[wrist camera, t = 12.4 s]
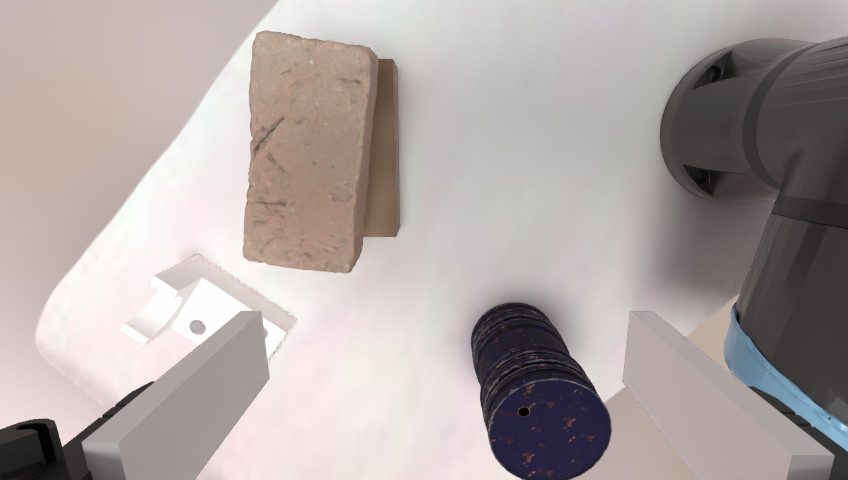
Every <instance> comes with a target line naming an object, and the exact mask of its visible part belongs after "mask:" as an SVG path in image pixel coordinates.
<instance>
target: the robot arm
mask: <svg viewBox="0 0 848 480" xmlns="http://www.w3.org/2000/svg"><path fill="white" fill-rule="evenodd" d="M661 147H662V152H663V156H664V159H665V162H666V164H667V167H668V169H669V170H670V172H671V174H672V175H673V177H674V178H675V179H676V180H677V181H678V183H679V184H681V185H682V186H683V187H684V188H685V189H687V190H688V191H690V192H691V193H693V194H695V195H697V196H699V197H702V198H705V199H709V200H713V201H718V202H723V203H730V204H749V203H756V202H761V201H766V200H771V199H775V198H777V199H776V202H775V204H774V207H773V210H772V212H771V214H770V216H769V219H768V222H767V225H766V227H765V230H764V233H763V235H762V238H761V241H760V244H759V246H758V249H757V252H756V254H755V257H754V260H753V262H752V265H751V267H750V270H749V273H748V275H747V278H746V280H745V283H744V285H743V288H742V290H741V293H740V295H739V298H738V301H737V302H736V303H735V304H734V305H733V307H732V309H731V324H730V327H729V330H728V334H727V337H726V340H725V343H724V350H723V352H724V359H725V362H726V364H727V366H728V368H729V369H730V371H731V372H732V374H731V373H730V372H728V371H727V370H726V369H724V368H723V367H722V366H721V365H720V364H718V363H717V362H716V361H715V360H713V359H712V358H710V357H709V356H708V355H707V354H706V353H705V352H703V351H702V350H701V349H699V348H698V347H697V346H696V345H694V344H693V343H692V342H690V341H689V340H688V339H687V338H686V337H684V336H683V335H682V334H681V333H679V332H678V331H677V330H675V329H674V328H673V327H672V326H670V325H669V324H668V323H667V322H665V321H664V320H663V319H662V318H660V317H659V316H658V315H657V314H655V313H654V312H653V311H630V316H629V326H628V335H627V344H626V353H625V362H624V371H623V380H622V382H623V383H624V384H625V386H626V387H627V388H628V390H629V391H630V392H631V394H632V395H633V396H634V398H635V399H636V400H637V401H638V403H639V404H640V406H641V407H642V408H643V409H644V411H645V412H646V413H647V415H648V416H649V417H650V419H651V420H652V421H653V423H654V424H655V425H656V426H657V428H658V429H659V431H660V432H661V433H662V434H663V436H664V437H665V438H666V440H667V441H668V442H669V444H670V445H671V446H672V447H673V449H674V450H675V452H676V453H677V454H678V455H679V457H680V458H681V459H682V461H683V462H684V463H685V465H686V466H687V467H688V469H689V470H690V471H691V473H692V474H693V475H694V477H695V478H696V479H697V480H848V36H845V37H841V38H838V39H834V40H830V41H827V42H823V43H813V42H805V41H796V40H788V39H778V38H767V39H757V40H751V41H747V42H744V43H741V44H738V45H734V46H731V47H728V48H725V49H723V50H720V51H718V52H716V53H714V54H712V55H710V56H709V57H707V58H705V59H704V60H702V61H701V62H700V63H698V64H697V65H696V66H695V67H694V68H693V69H691V70H690V71H689V72H688V73H687V75H686V76H685V77H684V78H683V79H682V80H681V82H680V83H679V84H678V86H677V87H676V89H675V90H674V92H673V94H672V96H671V98H670V100H669V102H668V104H667V107H666V110H665V113H664V116H663V121H662V127H661ZM269 378H270V377H269V369H268V361H267V352H266V344H265V336H264V327H263V319H262V311H240V312H239V313H238V314H236V315H235V316H234V317H233V318H232V319H230V320H229V321H228V322H227V323H225V324H224V325H223V326H222V327H221V328H219V329H218V330H217V331H216V332H215V333H213V334H212V335H211V336H210V337H209V338H207V339H206V340H205V341H204V342H202V343H201V344H200V345H199V346H198V347H196V348H195V349H194V350H193V351H192V352H190V353H189V354H188V355H187V356H186V357H184V358H183V359H182V360H181V361H179V362H178V363H177V364H176V365H175V366H173V367H172V368H171V369H170V370H169V371H167V372H166V373H165V374H164V375H162V376H161V377H160V378H159V379H158V380H156V381H155V382H154V381H152V382H150V383H148V384H146V385H144V386H142V387H140V388H138V389H136V390H135V391H133V392H131V393H130V394H128V395H127V396H126V397H125V398H123V399H122V400H121V401H120V402H118V403H117V404H116V406H115V407H112V408H111V409H110V410H108V411H107V412H106V413H105V414H103V416H102V418H98V419H97V420H96V421H95V422H93V423H92V424H91V425H89V426H88V427H87V428H86V429H85V430H84V431H82V432H81V433H80V434H78V435H77V436H76V437H75V438H73V439H72V440H71V441H69V442H68V443H67V444H66V445H64V446H63V447H62V445H61V441H60V438H59V434H58V430H57V427H56V424H55V421H53V420H50V419H33V420H29V421H25V422H20V423H17V424H14V425H11V426H9V427H6V428H3V429H1V430H0V480H195V479H196V477H197V476H198V475H199V473H200V472H201V471H202V469H203V468H204V466H205V465H206V464H207V462H208V461H209V460H210V458H211V457H212V456H213V454H214V453H215V452H216V450H217V449H218V448H219V446H220V445H221V443H222V442H223V441H224V439H225V438H226V437H227V435H228V434H229V433H230V431H231V430H232V429H233V427H234V426H235V424H236V423H237V422H238V420H239V419H240V418H241V416H242V415H243V414H244V412H245V411H246V410H247V408H248V407H249V406H250V404H251V403H252V401H253V400H254V399H255V397H256V396H257V395H258V393H259V392H260V391H261V389H262V388H263V387H264V385H265V384H266V383H267V381H268V380H269Z"/></svg>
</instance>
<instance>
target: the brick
mask: <svg viewBox="0 0 848 480" xmlns="http://www.w3.org/2000/svg"><path fill="white" fill-rule="evenodd" d="M250 76H251V80H250V88H249V105H250V112H251V122H250V130H251V135H252V137H253V140H252V141H251V143H250V150H251V162H250V168H249V173H248V175H249V179H248V181H249V183H250V185H249V189H248V192H247V195H246V196H247V200H248V201H247V204H246V207H245V219H244V245H243V256H244V258H246V259H247V260H249V261H255V262H259V263H262V262H265V263H267V264H268V265H276V266H282V267H287V268H294V269H303V270H315V271H327V272H335V273H336V272H341V273H349V272H351V271H352V268H353V267H354V266H355V264H356V262H357V260H358V259H359V257H360V254H361V250H362V246H363V232H364V226H363V217H364V214H365V212H366V198H367V188H368V176H369V172H368V170H369V159H370V146H371V135H372V123H373V113H374V106H375V101H376V96H377V76H378V57H377V56H376V55H375V54H374V52H373V51H372V50H371V49H370V48H367V47H365V46H361V45H346V44H343V43H338V42H334V41H329V40H328V41H321V40H318V39H305V38H302V37H300V36H295V35H292V34H285V33H281V32H271V31H262V32H259V33H257V34H256V38H255V40H254V42H253V46H252V63H251V70H250Z"/></svg>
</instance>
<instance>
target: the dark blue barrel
mask: <svg viewBox="0 0 848 480" xmlns="http://www.w3.org/2000/svg"><path fill="white" fill-rule="evenodd" d="M471 347H472V357H473V364H474V368H475V372H476V375H477V378H478V381H479V383H480V385H481V392H480V401H481V407H482V411H483V417H484V422H485V425H486V429H487V432H488V438H489V443H490V446H491V450H492V452H493V454H494V456H495V458H496V459H497V461H498V462H499V463H500V465H501V466H502V467H504V468H505V469H506V470H507V471H508V472H510V473H511V474H513V475H514V476H516V477H518V478H521V479H523V480H571V479H573V478H576V477H578V476H580V475H582V474H583V473H585V472H587V471H588V470H590V469H591V468H592V467H593V466H594V465H595V464H596V463H597V462H598V461H599V460H600V459H601V457H602V456H603V455H604V453H605V451H606V449H607V447H608V445H609V442H610V439H611V432H612V429H611V428H612V427H611V419H610V415H609V412H608V410H607V408H606V406H605V404H604V403H603V401H602V400H601V398H600V397H599V395H598V394H597V392H596V390H595V387H594V386H593V384H592V383H591V381H590V380H589V378H588V377H587V375H586V374H585V372H584V370H583V369H582V367H581V366H580V365H579V364H578V363H577V362H576V361H575V360H574V359H573V358H572V357H571V356H570V355H569V351H568V349H567V347H566V345H565V343H564V341H563V339H562V337H561V335H560V334H559V332H558V331H557V329H556V328H555V327H554V326H553V325H552V324H551V322H550V321H549V319H548V318H547V317H546V316H545V314H544V313H542V312H541V311H540V310H538V309H537V308H535V307H533V306H530V305H527V304H523V303H506V304H502V305H499V306H496V307H494V308H492V309H491V310H489V311H487V312H486V313H485V314H484V315H483V316H482V317H481V318H480V319H479V320H478V322H477V324H476V325H475V327H474V330H473V333H472V337H471Z"/></svg>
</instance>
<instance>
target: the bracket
mask: <svg viewBox="0 0 848 480" xmlns="http://www.w3.org/2000/svg"><path fill="white" fill-rule="evenodd" d="M150 284H151V285H153V286H154V287H156V288H157V289H158V290H157V292H156V293H155V295H154V297H153V298H152V299H151V301H150V302H149V303H148V304H147V305H146V306H145V307H144V309H143V310H142V311H141V312H139V313H138V314H137V315H136V316H135V317H134V318H132V319H131V320H130V321H128V322H127V323H125V324H124V326H123V328H122V329H121V332H123V333H124V334H126V335H128V336H129V337H131V338H133V339H134V340H136V341H137V342H139V343H141V344H142V345H144V346H145V345H146V344H147V343H149V342H150V341H152V340H153V339H155V338H156V337H157V336H159V335H160V334H162V333H163V332H165V331H166V330H167V329H169V328H170V327H171V328H172V329H174V330H176V331H177V332H179V333H180V334H182V335H184V336H185V337H187V338H188V339H190V340H191V341H193V342H195V343H196V344H198V345H200V344H201V343H202V342H204V341H205V340H206V339H207V338H209V337H210V336H211V335H212V334H213V333H215V332H216V331H217V330H218V329H219V328H221V327H222V326H223V325H224V324H225V323H227V322H228V321H229V320H230V319H232V318H233V317H234V316H235V315H236V314H238V313H239V312H240V311H262V319H263V327H264V336H265V344H266V352H267V360H268V359H269V358H270V356H271V355H272V354H273V352H274V351H275V349H276V348H277V347H278V345H279V344H280V343H281V341H282V340H283V338H284V337H285V336H286V334H287V333H288V332H289V330H290V329H291V327H292V326H293V325H294V323H295V322H296V320H297V319H295V318H294V317H292V316H291V315H289V314H288V313H286V312H285V311H283V310H282V309H280V308H279V307H277V306H276V305H274V304H273V303H271V302H270V301H268V300H267V299H265V298H264V297H262V296H261V295H259V294H258V293H256V292H255V291H253V290H252V289H250V288H249V287H247V286H246V285H244V284H243V283H241V282H240V281H238V280H237V279H235V278H234V277H232V276H231V275H229V274H228V273H226V272H225V271H223V270H221V269H220V268H218V267H217V266H215V265H214V264H212V263H211V262H209V261H208V260H206V259H205V258H203V257H202V256H200V255H199V254H198V255H196V256H194V257H192V258H190V259H188V260H186V261H183V262H181V263H179V264H177V265H175V266H173V267H171V268H169V269H167V270H165V271H162V272H160V273H158V274H156V275H154V276H153V278H152V280H151V281H150Z"/></svg>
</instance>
